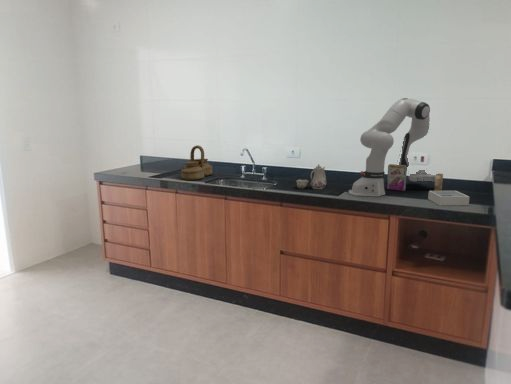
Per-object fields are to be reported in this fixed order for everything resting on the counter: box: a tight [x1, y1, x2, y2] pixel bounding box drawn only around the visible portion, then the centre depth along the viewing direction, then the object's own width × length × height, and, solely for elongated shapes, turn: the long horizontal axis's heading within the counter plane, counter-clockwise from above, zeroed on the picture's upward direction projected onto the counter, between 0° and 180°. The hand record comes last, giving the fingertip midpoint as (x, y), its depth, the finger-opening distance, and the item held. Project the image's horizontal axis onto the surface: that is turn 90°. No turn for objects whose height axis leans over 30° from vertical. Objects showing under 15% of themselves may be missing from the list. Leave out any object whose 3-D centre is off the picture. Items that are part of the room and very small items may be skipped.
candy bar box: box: [386, 163, 408, 192], centre depth 271 cm, size 11×5×16 cm, turn 56°
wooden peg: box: [433, 173, 444, 191], centre depth 250 cm, size 4×4×14 cm
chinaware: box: [295, 164, 328, 190], centre depth 281 cm, size 28×17×17 cm, turn 135°
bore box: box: [427, 190, 470, 207], centre depth 237 cm, size 16×16×5 cm
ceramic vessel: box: [180, 145, 213, 181], centre depth 322 cm, size 34×18×25 cm, turn 165°
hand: (430, 179), depth 261 cm, fingers open, 8 cm apart
